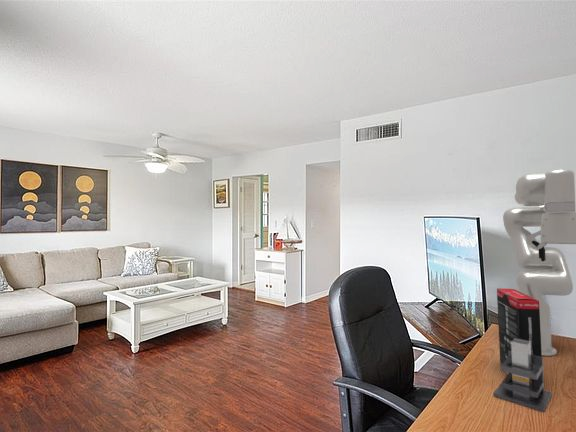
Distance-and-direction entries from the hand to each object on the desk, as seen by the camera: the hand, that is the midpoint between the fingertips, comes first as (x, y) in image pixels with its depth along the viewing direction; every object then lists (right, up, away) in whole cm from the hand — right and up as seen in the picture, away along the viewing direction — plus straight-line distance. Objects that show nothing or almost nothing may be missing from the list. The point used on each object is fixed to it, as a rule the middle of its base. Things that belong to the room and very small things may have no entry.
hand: (562, 261), depth 106 cm
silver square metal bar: (-18, -38, -8) cm, 43 cm away
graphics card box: (-10, -39, +6) cm, 40 cm away
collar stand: (-19, -39, -8) cm, 43 cm away
